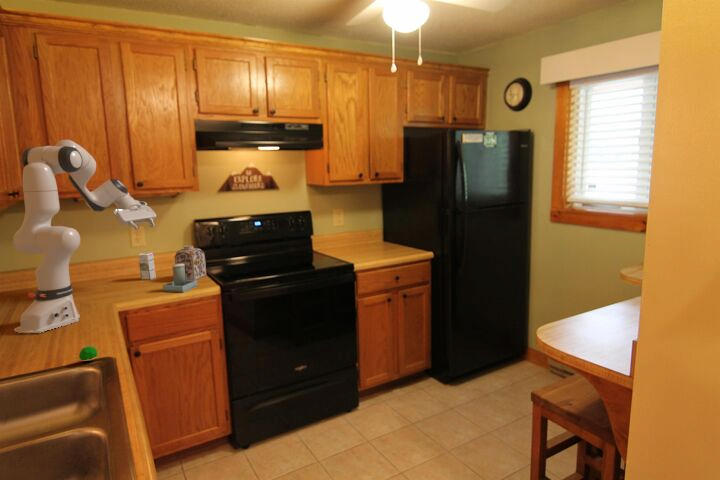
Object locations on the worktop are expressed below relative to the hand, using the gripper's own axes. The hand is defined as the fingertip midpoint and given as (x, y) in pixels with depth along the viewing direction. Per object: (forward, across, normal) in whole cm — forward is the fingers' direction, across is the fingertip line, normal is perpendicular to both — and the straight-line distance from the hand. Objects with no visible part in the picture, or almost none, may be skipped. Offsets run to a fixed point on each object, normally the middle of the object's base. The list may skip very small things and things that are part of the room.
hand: (145, 227), depth 225 cm
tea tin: (+33, +3, +10) cm, 35 cm away
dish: (+34, +3, +11) cm, 35 cm away
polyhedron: (+60, -73, -16) cm, 96 cm away
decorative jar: (+26, +23, +19) cm, 39 cm away
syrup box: (+9, +14, +35) cm, 39 cm away
